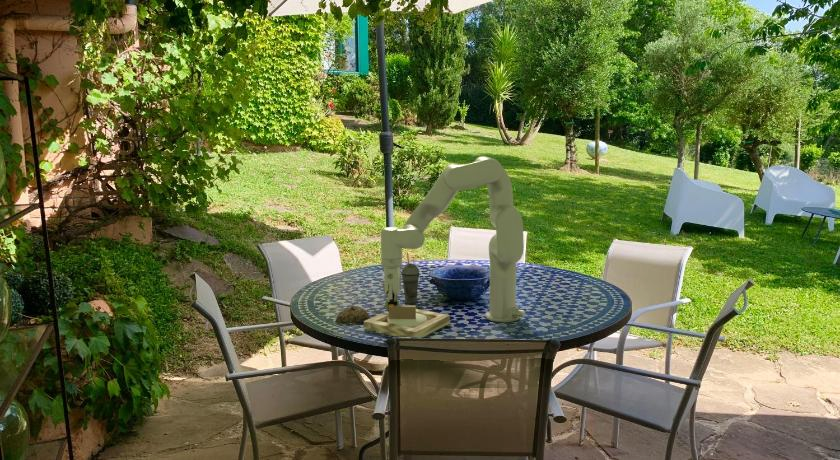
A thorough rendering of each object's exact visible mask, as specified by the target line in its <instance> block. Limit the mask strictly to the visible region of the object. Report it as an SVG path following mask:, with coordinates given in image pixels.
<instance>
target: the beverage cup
mask: <svg viewBox="0 0 840 460" xmlns="http://www.w3.org/2000/svg"><path fill="white" fill-rule="evenodd" d="M406 259H407V263H406V264H405V265H404V266H402V270H401V279H402V285H403V292H404V293H403V295H404V300H405V303H408V304H412V303H416V302H417V298H418V287H419V277H420V274H421V273H420V269H419V267H418V266H417V265H416V264H414V263H411V262H410V258H409V252H406Z"/></svg>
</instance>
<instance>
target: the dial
mask: <svg viewBox="0 0 840 460" xmlns="http://www.w3.org/2000/svg"><path fill="white" fill-rule="evenodd" d="M416 309H417V305H413V304H412V305H410V304H409V305H404V304H403V305H400V304H399V305H394V304H389V317H388V323H390V324H395V325H400V326H405V327H410V328H415V327H417V326H419V325H421V324H423V323H425V322H427V317H426V316H425V315H423V314H419V313H416Z"/></svg>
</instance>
